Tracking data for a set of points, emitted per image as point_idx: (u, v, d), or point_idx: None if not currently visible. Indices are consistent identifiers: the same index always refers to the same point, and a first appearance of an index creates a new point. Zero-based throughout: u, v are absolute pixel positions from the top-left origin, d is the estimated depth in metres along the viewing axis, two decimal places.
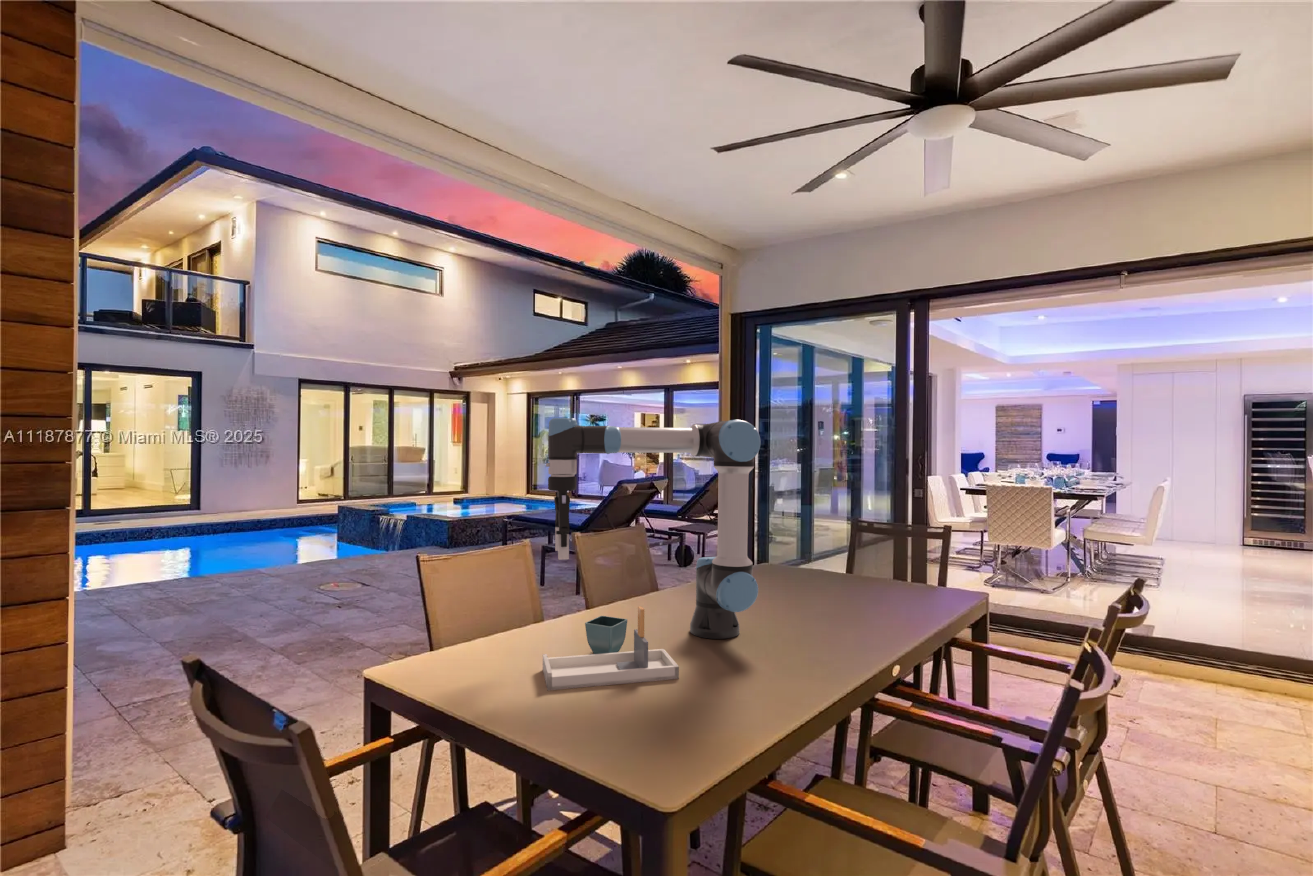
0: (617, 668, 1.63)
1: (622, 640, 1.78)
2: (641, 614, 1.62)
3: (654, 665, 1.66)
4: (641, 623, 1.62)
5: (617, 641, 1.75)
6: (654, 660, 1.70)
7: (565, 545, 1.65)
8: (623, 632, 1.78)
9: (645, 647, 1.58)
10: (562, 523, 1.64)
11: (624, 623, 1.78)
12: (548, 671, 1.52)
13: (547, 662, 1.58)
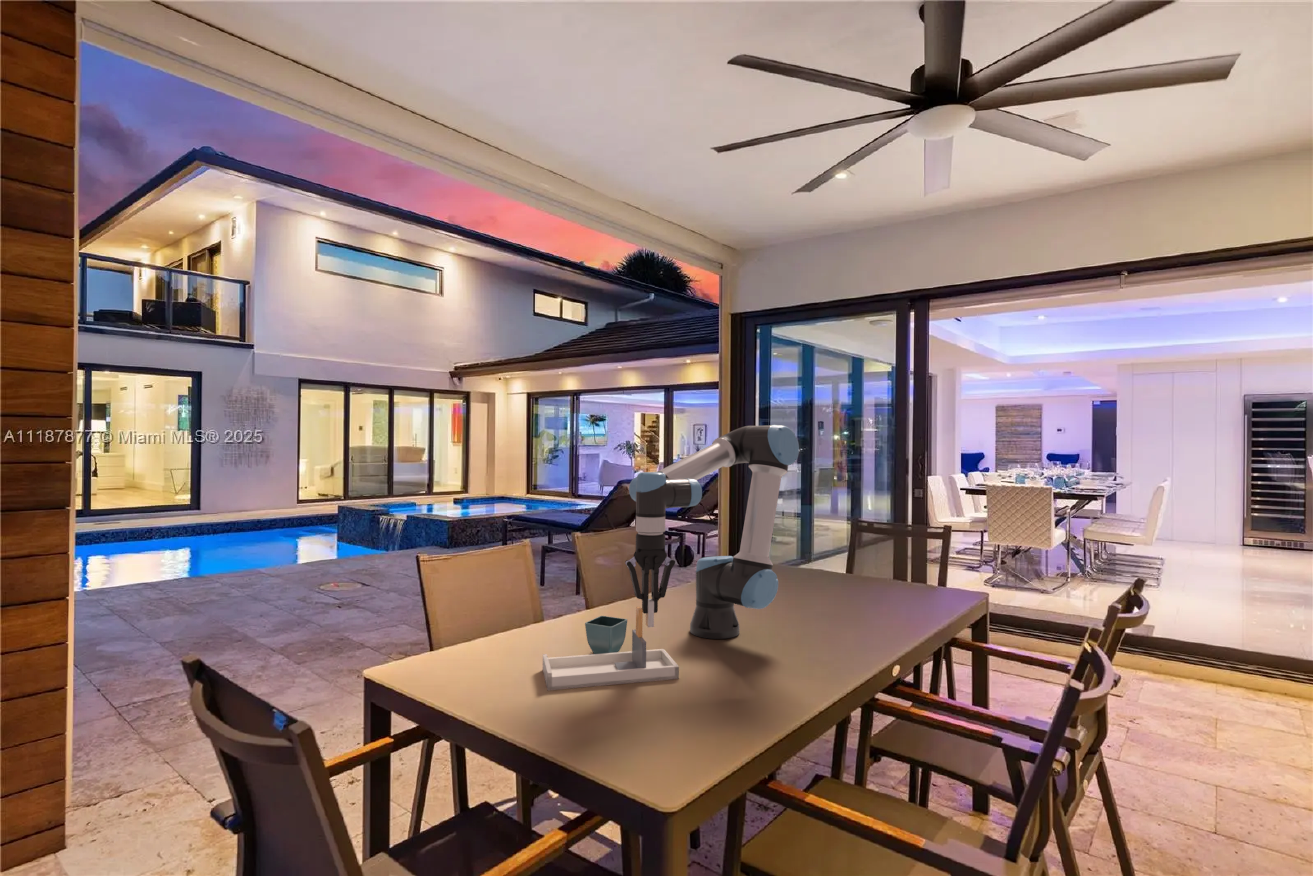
0: None
1: (622, 640, 1.78)
2: (639, 614, 1.62)
3: (654, 665, 1.66)
4: (639, 623, 1.62)
5: (617, 641, 1.75)
6: (654, 660, 1.70)
7: (643, 611, 1.63)
8: (623, 632, 1.78)
9: (643, 647, 1.58)
10: (634, 589, 1.64)
11: (624, 623, 1.78)
12: (548, 671, 1.52)
13: (547, 662, 1.58)
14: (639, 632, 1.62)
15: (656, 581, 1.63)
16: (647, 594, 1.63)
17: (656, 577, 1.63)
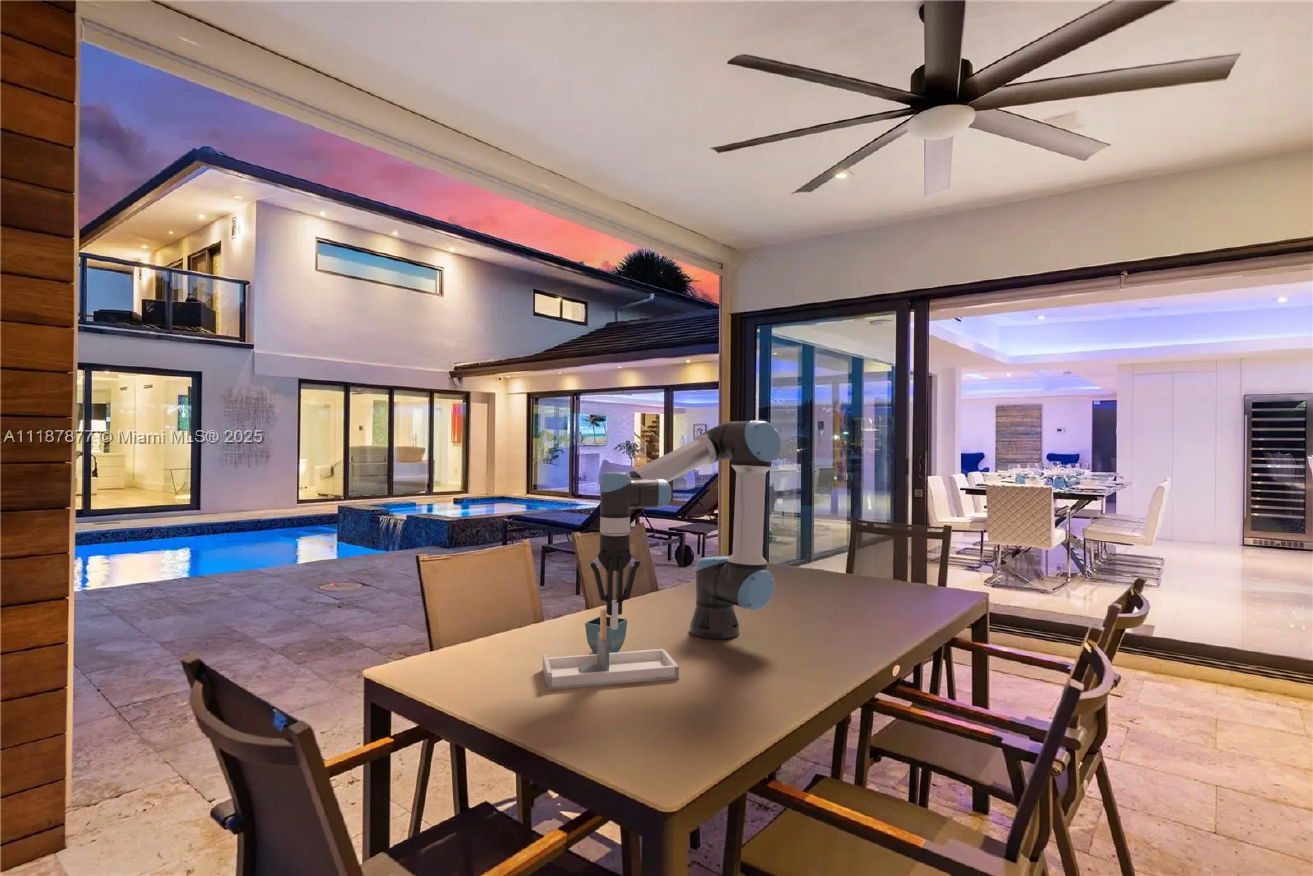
0: (617, 668, 1.63)
1: (622, 640, 1.78)
2: (603, 616, 1.60)
3: (654, 665, 1.66)
4: (603, 626, 1.60)
5: (617, 641, 1.75)
6: (654, 660, 1.70)
7: (607, 613, 1.61)
8: (623, 632, 1.78)
9: (606, 650, 1.56)
10: (598, 591, 1.61)
11: (624, 623, 1.78)
12: (548, 671, 1.52)
13: (547, 662, 1.58)
14: (603, 635, 1.60)
15: (620, 582, 1.61)
16: (611, 595, 1.60)
17: (620, 578, 1.61)
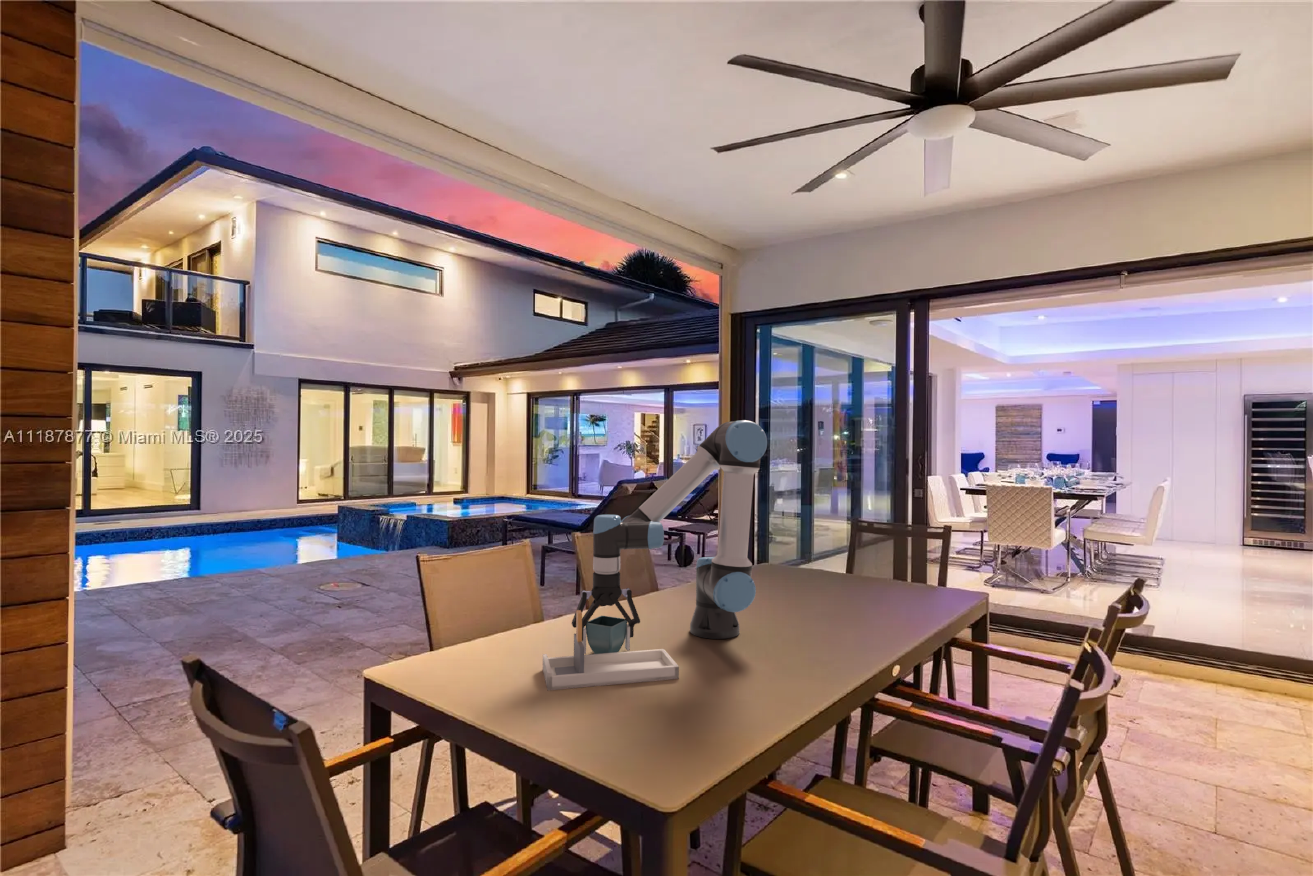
0: (617, 668, 1.63)
1: (622, 640, 1.78)
2: (578, 618, 1.58)
3: (654, 665, 1.66)
4: (578, 627, 1.58)
5: (617, 641, 1.75)
6: (654, 660, 1.70)
7: None
8: (623, 632, 1.78)
9: (581, 652, 1.54)
10: (574, 617, 1.76)
11: (624, 623, 1.78)
12: (548, 671, 1.52)
13: (547, 662, 1.58)
14: (578, 636, 1.58)
15: (623, 611, 1.78)
16: (585, 624, 1.75)
17: (621, 609, 1.77)
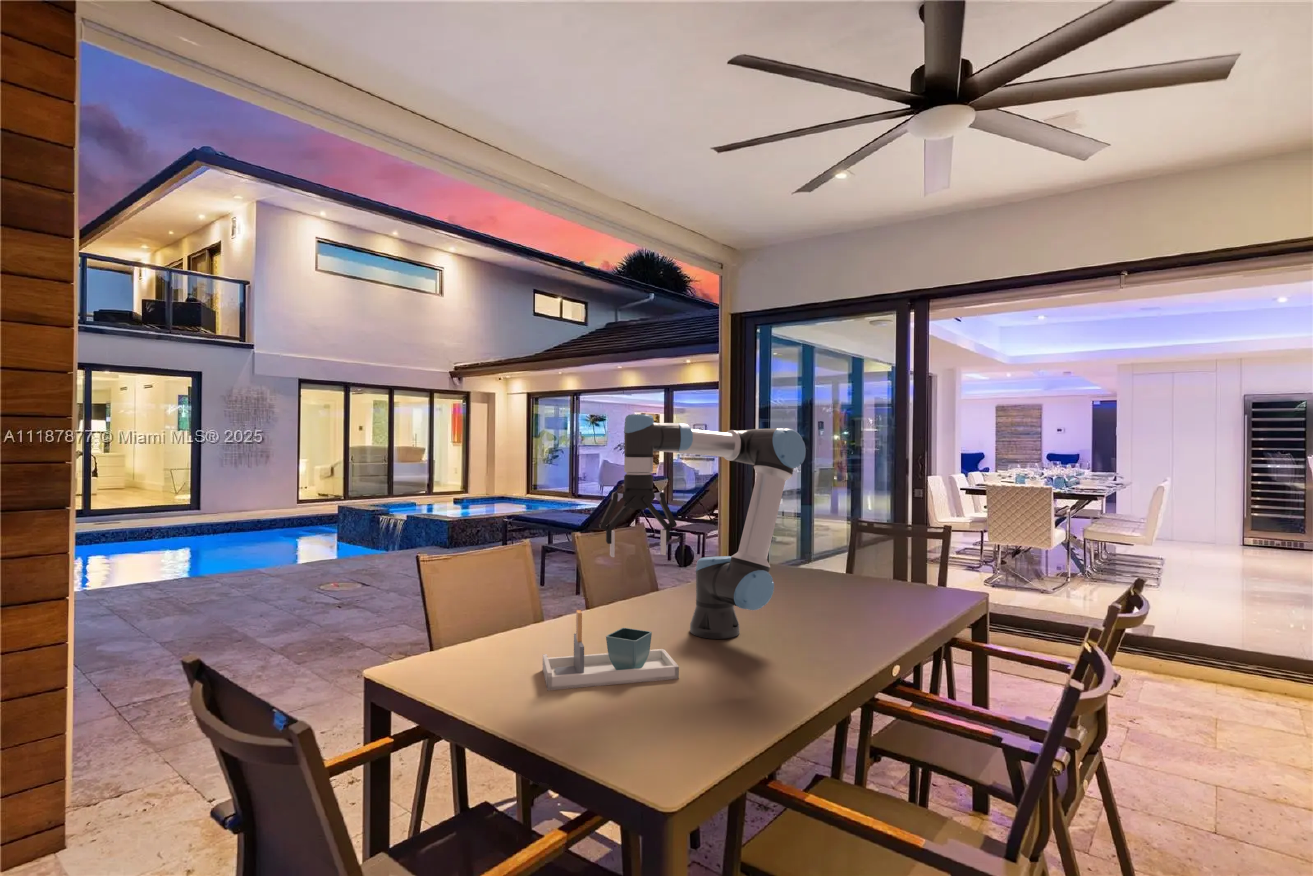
0: None
1: (646, 655, 1.63)
2: (578, 618, 1.58)
3: (654, 665, 1.66)
4: (578, 627, 1.58)
5: (641, 656, 1.60)
6: (654, 660, 1.70)
7: None
8: (647, 646, 1.63)
9: (581, 652, 1.54)
10: (602, 519, 1.66)
11: (648, 636, 1.63)
12: (548, 671, 1.52)
13: (547, 662, 1.58)
14: (578, 636, 1.58)
15: (658, 515, 1.68)
16: (613, 526, 1.65)
17: (655, 512, 1.68)
